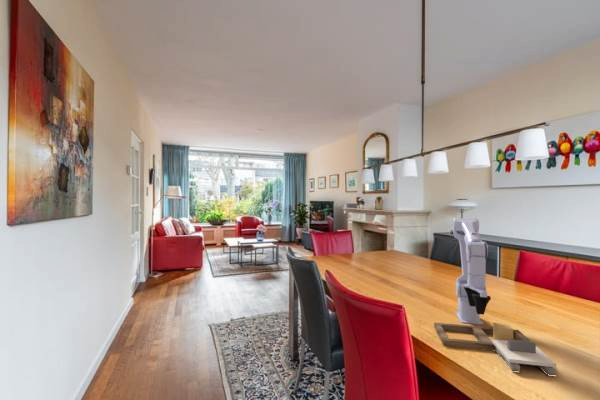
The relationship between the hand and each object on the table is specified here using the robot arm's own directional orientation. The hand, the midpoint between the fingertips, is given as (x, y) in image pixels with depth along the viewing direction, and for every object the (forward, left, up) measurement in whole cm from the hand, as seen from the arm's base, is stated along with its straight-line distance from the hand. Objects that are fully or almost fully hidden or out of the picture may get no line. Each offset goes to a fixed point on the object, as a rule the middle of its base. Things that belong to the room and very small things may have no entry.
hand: (476, 309), depth 108 cm
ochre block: (+4, +7, -10) cm, 13 cm away
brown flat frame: (+10, +1, -9) cm, 14 cm away
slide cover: (+16, +8, -7) cm, 19 cm away
